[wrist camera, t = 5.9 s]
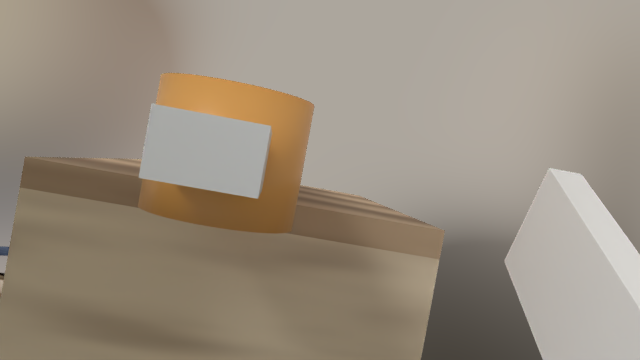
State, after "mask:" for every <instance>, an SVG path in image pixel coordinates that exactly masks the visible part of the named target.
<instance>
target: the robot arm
mask: <svg viewBox="0 0 640 360" xmlns="http://www.w3.org/2000/svg"><path fill="white" fill-rule="evenodd" d="M504 262H505V264H506V267H507V269H508V272H509V274H510V277H511V279H512V282H513V285H514V287H515V289H516V292H517V295H518V297H519V300H520V302H521V305H522V308H523V310H524V312H525V315H526V318H527V320H528V323H529V325H530V328H531V330H532V333H533V336H534V338H535V341H536V343H537V346H538V348H539V351H540V353H541V356H542V358H543V360H640V254H639V253H638V252H637V250H636V249H635V247H634V246H633V245H632V243H631V242H630V241H629V239H628V238H627V236H626V235H625V234H624V232H623V231H622V229H621V228H620V227H619V225H618V224H617V223H616V221H615V220H614V219H613V217H612V216H611V214H610V213H609V212H608V210H607V209H606V207H605V206H604V205H603V203H602V202H601V201H600V199H599V198H598V196H597V195H596V194H595V192H594V191H593V190H592V188H591V187H590V186H589V184H588V183H587V182H586V180H585V179H584V177H583V176H582V175H581V174H578V173H573V172H568V171H562V170H557V169H552V168H549V169H548V171H547V173H546V175H545V177H544V180H543V182H542V184H541V186H540V188H539V190H538V192H537V194H536V196H535V198H534V201H533V202H532V204H531V207H530V209H529V211H528V213H527V215H526V217H525V219H524V221H523V223H522V225H521V227H520V229H519V231H518V234H517V236H516V238H515V240H514V242H513V244H512V246H511V248H510V250H509V252H508V254H507V256H506V258H505V261H504Z"/></svg>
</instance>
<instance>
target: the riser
mask: <svg viewBox="0 0 640 360" xmlns="http://www.w3.org/2000/svg"><path fill="white" fill-rule="evenodd" d="M141 161H142V159H108V158H58V157H57V158H56V157H25V160H24V166H23V172H22V178H21V183H20V190H19V195H18V201H17V206H16V213H15V218H14V224H13V230H12V235H11V241H10V247H9V253H8V259H7V265H6V270H5V276H4V282H3V288H2V293H1V299H0V360H421V356H422V350H423V345H424V339H425V334H426V329H427V323H428V318H429V312H430V307H431V302H432V296H433V291H434V286H435V280H436V275H437V270H438V264H439V259H440V254H441V248H442V243H443V238H444V230H441V229H439V228H437V227H434V226H432V225H429V224H427V223H425V222H422V221H419V220H417V219H415V218H412V217H410V216H407V215H405V214H402V213H400V212H398V211H395V210H393V209H390V208H388V207H385V206H383V205H380V204H378V203H376V202H373V201H371V200H368V199H366V198H363V197H361V196H358V195H353V194H347V193H341V192H336V191H331V190H325V189H319V188H314V187H308V186H303V185H300V188H299V193H298V199H297V204H296V210H295V215H294V221H293V226H292V231H291V232H289V233H278V234H274V233H256V232H246V231H237V230H229V229H222V228H216V227H210V226H204V225H198V224H193V223H188V222H183V221H179V220H174V219H170V218H166V217H162V216H158V215H155V214H152V213H149V212H146V211H144V210H142V209H140V208H139V207H138V202H139V196H140V191H141V185H142V179H143V178H139V172H140V167H141Z"/></svg>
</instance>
